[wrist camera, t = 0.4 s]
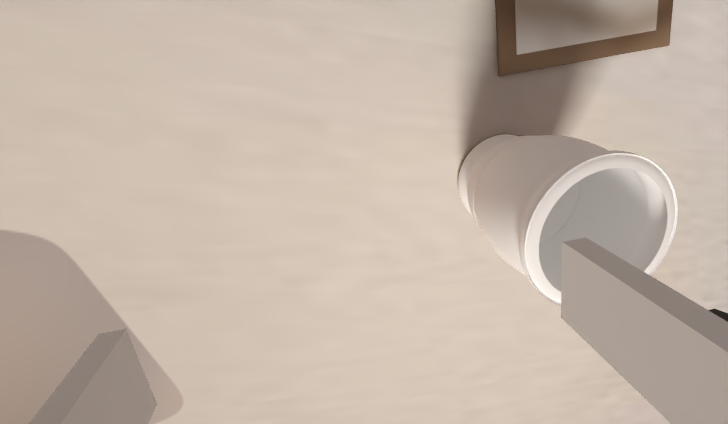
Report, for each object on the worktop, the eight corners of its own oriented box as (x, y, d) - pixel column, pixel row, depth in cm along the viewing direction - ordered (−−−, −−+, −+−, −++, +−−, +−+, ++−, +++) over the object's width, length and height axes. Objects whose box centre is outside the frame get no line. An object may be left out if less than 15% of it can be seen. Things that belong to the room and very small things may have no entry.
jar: (535, 231, 42) (650, 311, 28) (438, 227, 41) (509, 310, 27) (560, 127, 39) (704, 158, 25) (456, 117, 37) (547, 145, 23)
